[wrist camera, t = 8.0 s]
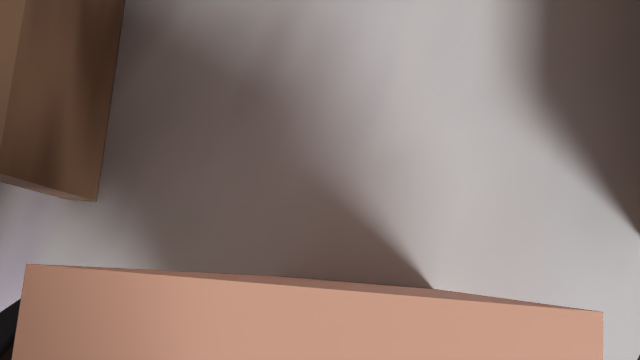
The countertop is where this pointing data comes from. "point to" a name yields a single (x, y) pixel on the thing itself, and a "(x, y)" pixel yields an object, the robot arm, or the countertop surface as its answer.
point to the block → (281, 320)
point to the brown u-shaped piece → (56, 92)
